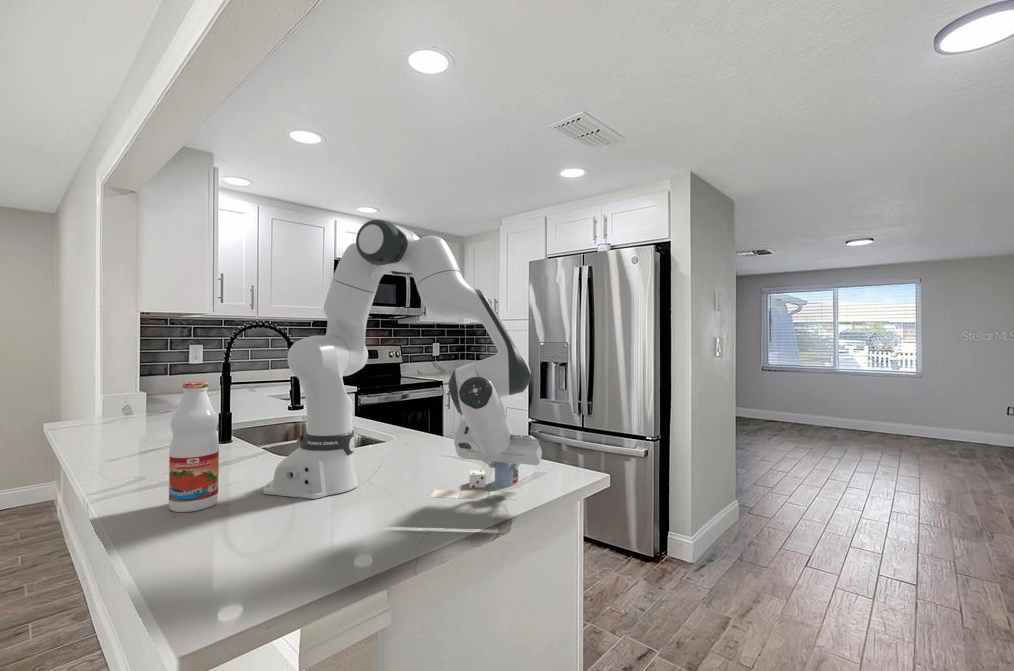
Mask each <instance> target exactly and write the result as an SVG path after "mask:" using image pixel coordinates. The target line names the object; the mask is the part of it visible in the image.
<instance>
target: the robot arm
mask: <svg viewBox="0 0 1014 671" xmlns="http://www.w3.org/2000/svg"><path fill="white" fill-rule="evenodd" d="M389 272H391V274H393V275H412V277H413V279H414V282H415V283H414V284H415V286H416V290H417V292H418V296H419V297H420V300H421V302H422V303H423V305H424V307H425V309H427V311H428V312H431V313H432V314H434V315H437V316H440V317H444V318H459V319H460V318H461V319H463V318H464V319H470V320H471V319H472V320H475V321H477V322H478V323H480V324H481V325H483V327H484V329H485V330H486V332H487V334H488V336H489V337H490V339H491V341H492V343H493V344H494V347H495V348H496V349H497V352H496V354H494V355H492V356H489V357H486V358H483V359H480V360H478V361H473V362H471V363H467V364H465V365H462V366H459V367H457V368H456V369H454V370H453V371H452V373H451V375H450V378H449V380H448V382H447V385H448V390H449V391H448V392H449V394H450V397H451V400H452V403H453V406H454V407H455V409H456V411H457V413H459V414H460V415H461V416H462V417H463V419H462V420H461V421H460V423H459V425H458V427H457V430H456V432H455V435H454V441H453V445H454V446H455V447H454V450H455V452H456V455H457V456H458V457H459V458H461V459H463V460H471V461H473V460H474V461H481V462H483V463H484V464H486V465H488V467H489V468H490V469H492V468H493V469H495V462H505V463H512V464H511V468H512V470H518V471H519V469H520V465H527V466H528V465H529V466H530V465H531V466H538V465H539V464H540V463H541V461H542V455H543V451H542V447H541V446H540V443H539V440H538V439H537V438H535V437H534V436H532V435H528V434H517V433H516V434H515V433H513V431H512V428H511V425H510V421H509V419H508V417H507V415H506V411H505V406H504V404H503V401H502V398H503V397H504V398H505V397H507V396H513V395H516V394H520V393H524V391H525V390H526V389H527V388H528V386H529V384H530V382H531V380H532V373H531V368H530V365H529V363H528V361H527V359H526V358H525V357H524V355H523V354H522V353H521V352H520V351H519V349H518V347H517V346H516V344H515V343H514V341H513V339H512V337H511V336H510V335H509V333H508V331H507V329H506V328H505V326H504V324H503V322H502V320H501V318H500V317H499V315H498V314H497V312H496V310H495V309H494V307H493V305H492V304H491V302H490V300H489V299H488V297H487V296H486V295H485V293H484V292H483V291H482V290H480V289H478V288H477V289H476V288H473V287H472V286H470V285H469V284H468V283H467V282H466V280H465V279H464V277H463V275H462V272H461V269H460V266H459V264H458V262H457V259H456V257H455V255H454V253H453V252H452V250H451V249H450V247H449V245H448V244H447V242H446V241H445V240H444V239H443V238H442V237H439V236H437V235H426V236H423V237H422V236H421V235H419V234H416V233H415V232H413V231H412V230H410V229H408V228H406V227H404V226H399V225H396V224H393V222H390V221H388V220H384V219H371V220H369V221H366V222H365V223H363V224H362V225H361V227H360V228H359V229H358V231H357V234H356V238H355V242H352V243H351V244H349V245H348V246H347V247H346V249H345V250H344V252H343V253H342V256H341V258H340V260H339V261H338V263H337V266H336V269H335V271H334V274H333V276H332V279H331V282H330V286H329V288H328V292H327V295H326V298H325V300H324V304H323V312H324V314H325V315H326V318H327V319H326V320H327V324H326V325H327V327H326V333H325V335H310V336H308V337H303V338H301V339H300V340H299V339H298V340H297V341H295V342H294V343H293V344H292V345H291V347H290V348H289V350H288V352H287V365H288V367H289V369H290V371H291V372H292V373H293V374H292V375H294V376H295V377H296V378H297V379H298V381H299V382H300V384H301V387H302V389H303V393H304V398H305V403H306V404H305V405H306V431H305V432H304V433H303V434H301V435H300V436H298V437H296V443H299V447H298V448H297V449H296V450H294V451H293V452H292V453H290V454H289V455H287V457H285V458H283V460H281V461H280V462H279V463H277V464H278V465H276V467H275V469H274V473H273V479H272V480H271V481H269V482H267V483H266V484H265V485H264V486H263V488H262V493H263V494H265V495H271V496H283V497H291V498H292V497H293V498H302V499H312V500H314V499H315V500H316V499H319V498H324V497H327V496H333V495H337V494H342V493H345V492H348V491H351V490H353V489H355V488H356V487H357V486H358V485H359V480H358V477H357V473H356V468H355V461H354V451H355V444H356V443H355V442H356V441H355V431H354V429H353V421H354V420H353V419H354V418H353V414H354V413H353V411H354V406H353V405H354V404H353V400H352V398H351V397H350V396H349V395H348V393H347V391H346V390H347V389H346V388H345V385H344V384H345V383H344V379H343V377H347V376H348V377H349V376H351V375H353V374H355V373H358V371H360V370H361V369H362V370H363V368H364V367H365V366H366V364H367V362H368V359H369V352H368V348H367V345H366V332H367V324H368V323H367V322H368V318H369V315H370V312H371V308H372V305H373V302H374V299H375V296H376V293H377V290H378V287H379V284H380V281H381V279H382V277H383V276H384V275H385V274H386V273H389Z"/></svg>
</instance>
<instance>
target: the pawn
mask: <svg viewBox="0 0 1014 671" xmlns="http://www.w3.org/2000/svg"><path fill="white" fill-rule="evenodd" d="M511 464H512V463H505V462H495V468H494V486H495V487H497V488H504V489H505V488H511V487H512V486H513V485H514V484H513V470H512V468H511Z"/></svg>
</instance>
